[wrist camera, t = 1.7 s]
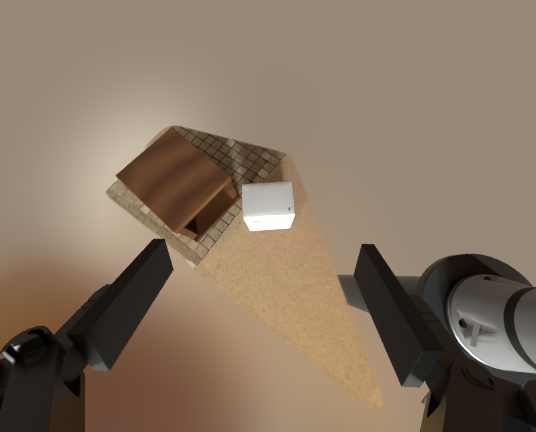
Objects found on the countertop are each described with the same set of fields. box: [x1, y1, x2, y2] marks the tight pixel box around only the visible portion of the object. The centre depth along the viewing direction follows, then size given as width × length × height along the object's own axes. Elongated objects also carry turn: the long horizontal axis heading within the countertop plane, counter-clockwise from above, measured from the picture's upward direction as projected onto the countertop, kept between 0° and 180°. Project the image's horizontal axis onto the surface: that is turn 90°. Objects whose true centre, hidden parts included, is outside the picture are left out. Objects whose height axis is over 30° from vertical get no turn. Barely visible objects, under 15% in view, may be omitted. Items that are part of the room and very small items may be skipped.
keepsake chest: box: [116, 127, 240, 242], centre depth 38 cm, size 14×12×10 cm
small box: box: [242, 181, 295, 231], centre depth 36 cm, size 8×6×10 cm
